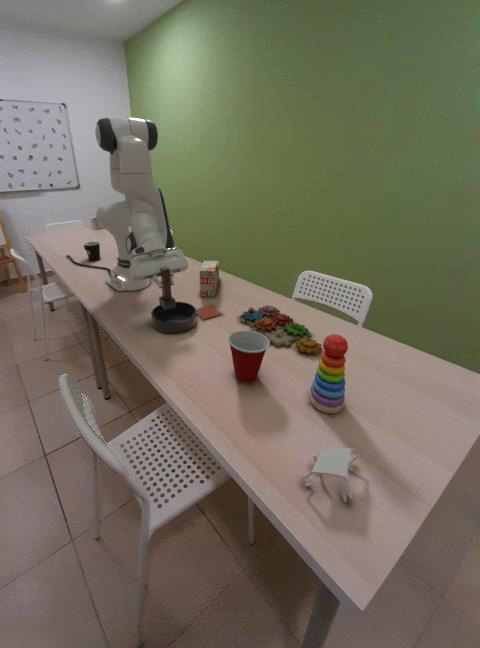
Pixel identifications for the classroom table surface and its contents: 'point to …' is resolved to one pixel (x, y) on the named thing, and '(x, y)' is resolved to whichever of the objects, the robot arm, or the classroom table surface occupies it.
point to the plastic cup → (247, 353)
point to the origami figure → (334, 466)
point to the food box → (209, 278)
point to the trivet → (207, 312)
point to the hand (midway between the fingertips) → (166, 286)
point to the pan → (174, 318)
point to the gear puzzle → (280, 328)
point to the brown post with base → (166, 290)
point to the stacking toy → (330, 376)
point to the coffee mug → (93, 250)
